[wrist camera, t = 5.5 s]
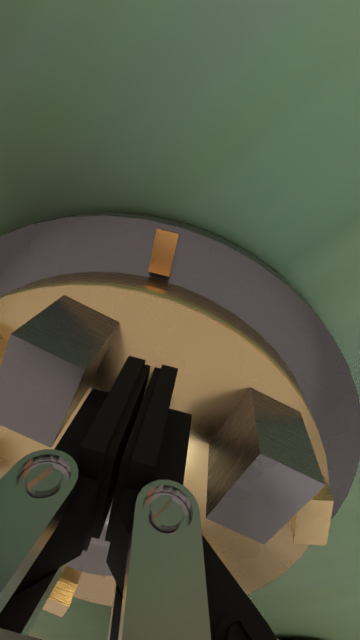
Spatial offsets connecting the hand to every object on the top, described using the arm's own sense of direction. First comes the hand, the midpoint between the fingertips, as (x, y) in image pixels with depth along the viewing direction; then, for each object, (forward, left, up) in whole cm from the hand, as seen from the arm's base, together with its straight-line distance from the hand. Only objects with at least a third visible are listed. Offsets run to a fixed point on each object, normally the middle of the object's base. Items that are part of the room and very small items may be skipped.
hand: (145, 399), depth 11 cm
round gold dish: (-5, +3, -3) cm, 7 cm away
